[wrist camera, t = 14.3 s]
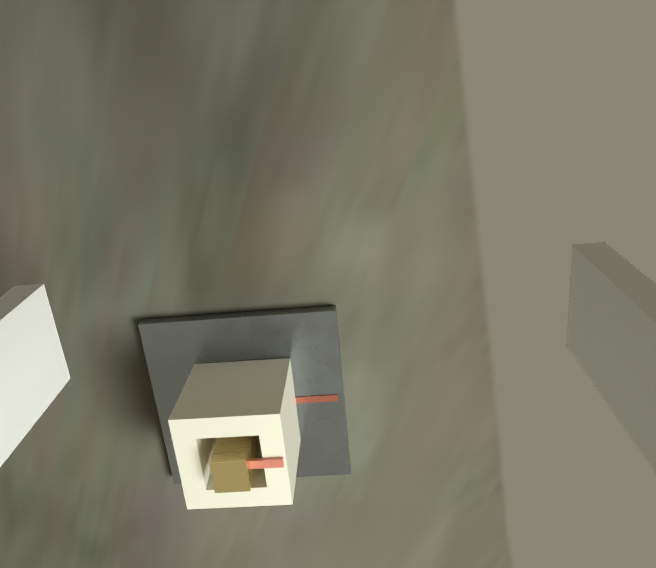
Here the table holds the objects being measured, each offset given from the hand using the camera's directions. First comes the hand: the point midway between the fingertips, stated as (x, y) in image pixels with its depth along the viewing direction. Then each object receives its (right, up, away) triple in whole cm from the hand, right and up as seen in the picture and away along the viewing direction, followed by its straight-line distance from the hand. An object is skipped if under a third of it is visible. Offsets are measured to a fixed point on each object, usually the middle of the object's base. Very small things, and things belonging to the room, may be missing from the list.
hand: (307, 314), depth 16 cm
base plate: (-6, -9, +38) cm, 40 cm away
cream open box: (-6, -9, +37) cm, 39 cm away
